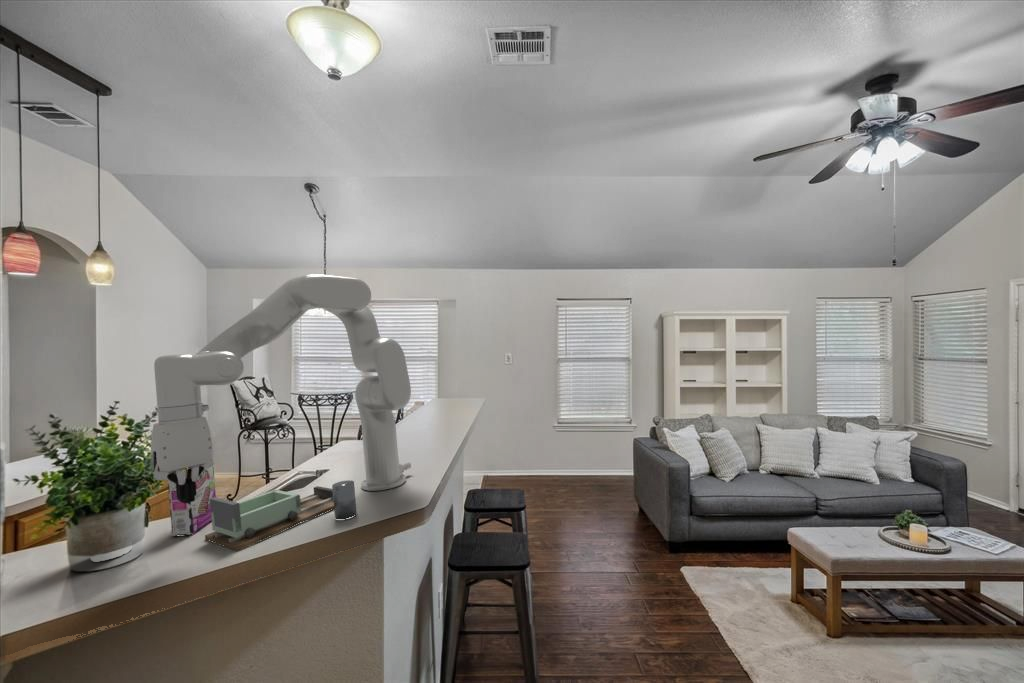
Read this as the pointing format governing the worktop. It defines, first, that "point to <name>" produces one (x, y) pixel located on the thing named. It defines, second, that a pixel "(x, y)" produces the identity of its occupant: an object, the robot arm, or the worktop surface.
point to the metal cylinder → (344, 499)
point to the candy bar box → (192, 505)
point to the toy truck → (253, 512)
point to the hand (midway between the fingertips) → (187, 501)
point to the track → (309, 509)
